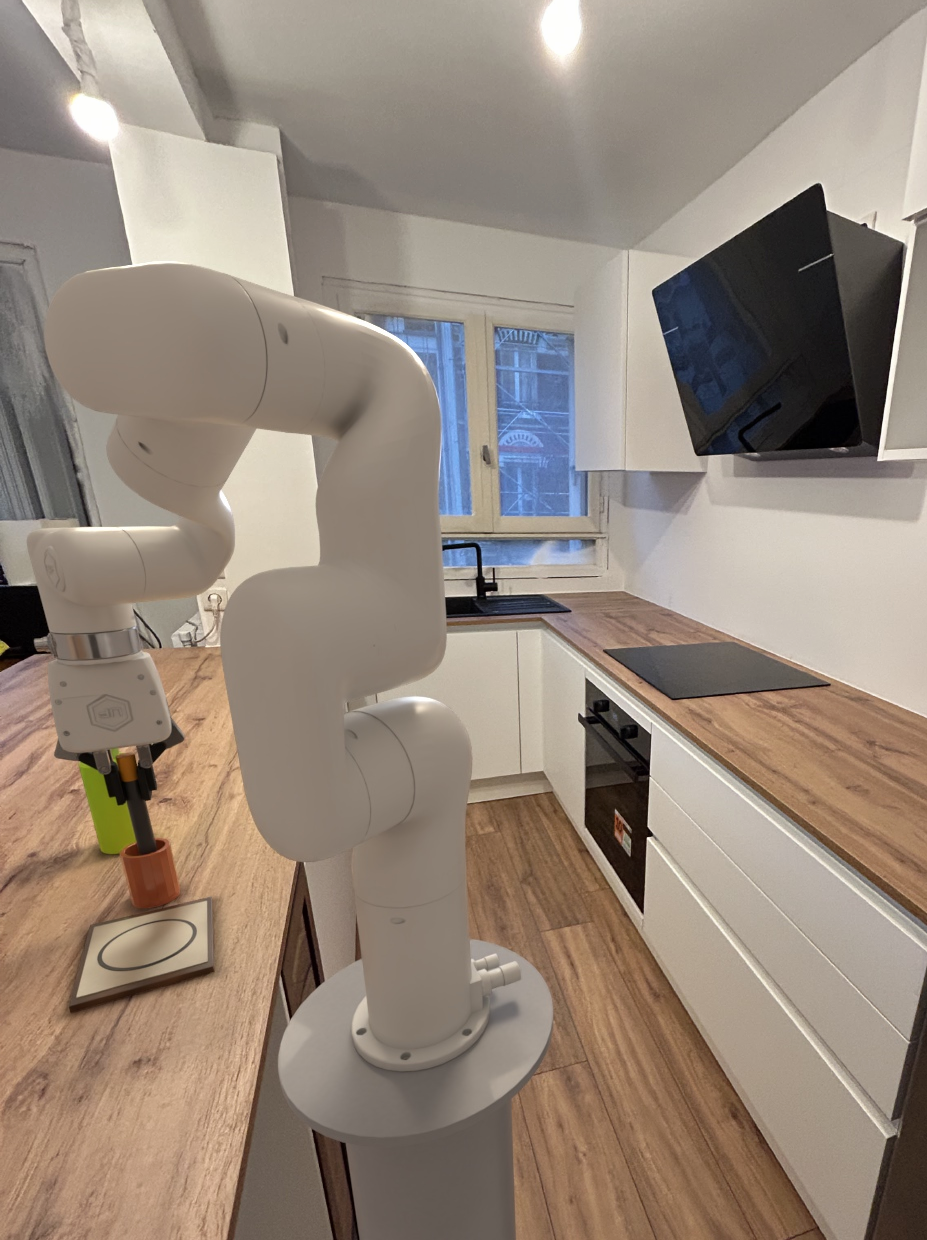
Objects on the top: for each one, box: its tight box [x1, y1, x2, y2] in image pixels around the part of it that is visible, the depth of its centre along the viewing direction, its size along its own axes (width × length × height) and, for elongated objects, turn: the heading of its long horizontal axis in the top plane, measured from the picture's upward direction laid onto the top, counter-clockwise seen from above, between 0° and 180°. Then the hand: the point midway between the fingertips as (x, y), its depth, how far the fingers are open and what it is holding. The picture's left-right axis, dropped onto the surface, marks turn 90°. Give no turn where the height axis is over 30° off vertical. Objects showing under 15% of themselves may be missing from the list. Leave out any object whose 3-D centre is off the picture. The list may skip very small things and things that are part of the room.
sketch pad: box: [68, 896, 216, 1014], centre depth 71 cm, size 12×15×1 cm
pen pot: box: [119, 837, 181, 909], centre depth 80 cm, size 5×5×7 cm
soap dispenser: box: [78, 748, 136, 855], centre depth 90 cm, size 6×7×20 cm
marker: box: [116, 752, 157, 856], centre depth 77 cm, size 2×2×13 cm
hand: (135, 798), depth 76 cm, fingers closed on marker, 1 cm apart
